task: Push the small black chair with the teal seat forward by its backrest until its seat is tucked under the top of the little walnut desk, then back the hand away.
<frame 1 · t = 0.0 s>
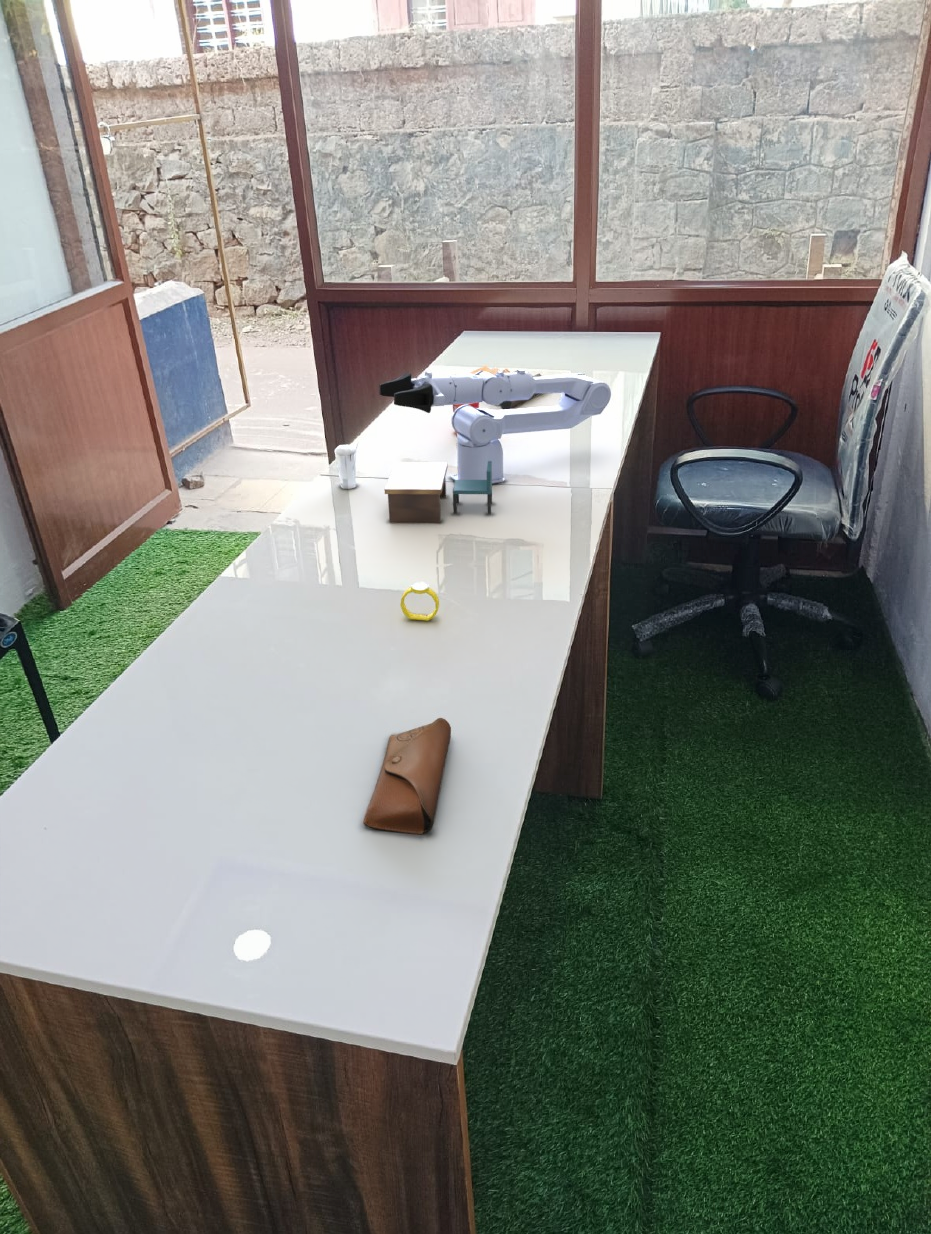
hand: (387, 394, 181), 22 cm above the table, tool horizontal, fingers open, 7 cm apart
sunglasses case: (410, 783, 112), on the table
milkshake: (350, 487, 198), on the table
chair: (472, 487, 183), point 5 cm above the table, slide at 0.0 cm
pan flute: (495, 393, 258), on the table
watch: (420, 619, 147), on the table
paper cup: (466, 433, 228), on the table
desk: (418, 508, 186), on the table
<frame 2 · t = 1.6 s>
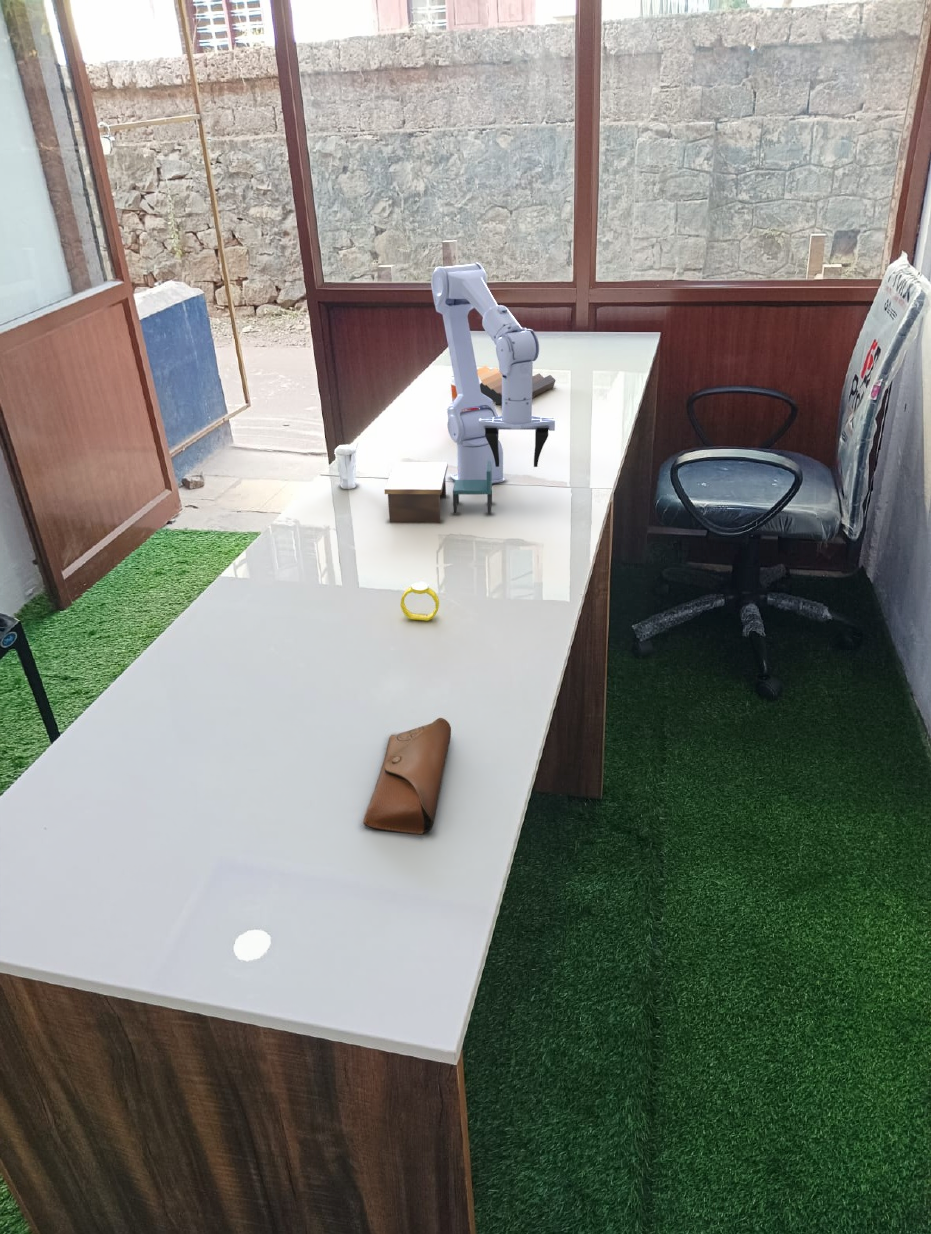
hand: (516, 465, 180), 9 cm above the table, tool pointing down, fingers open, 7 cm apart
nothing on the table moved.
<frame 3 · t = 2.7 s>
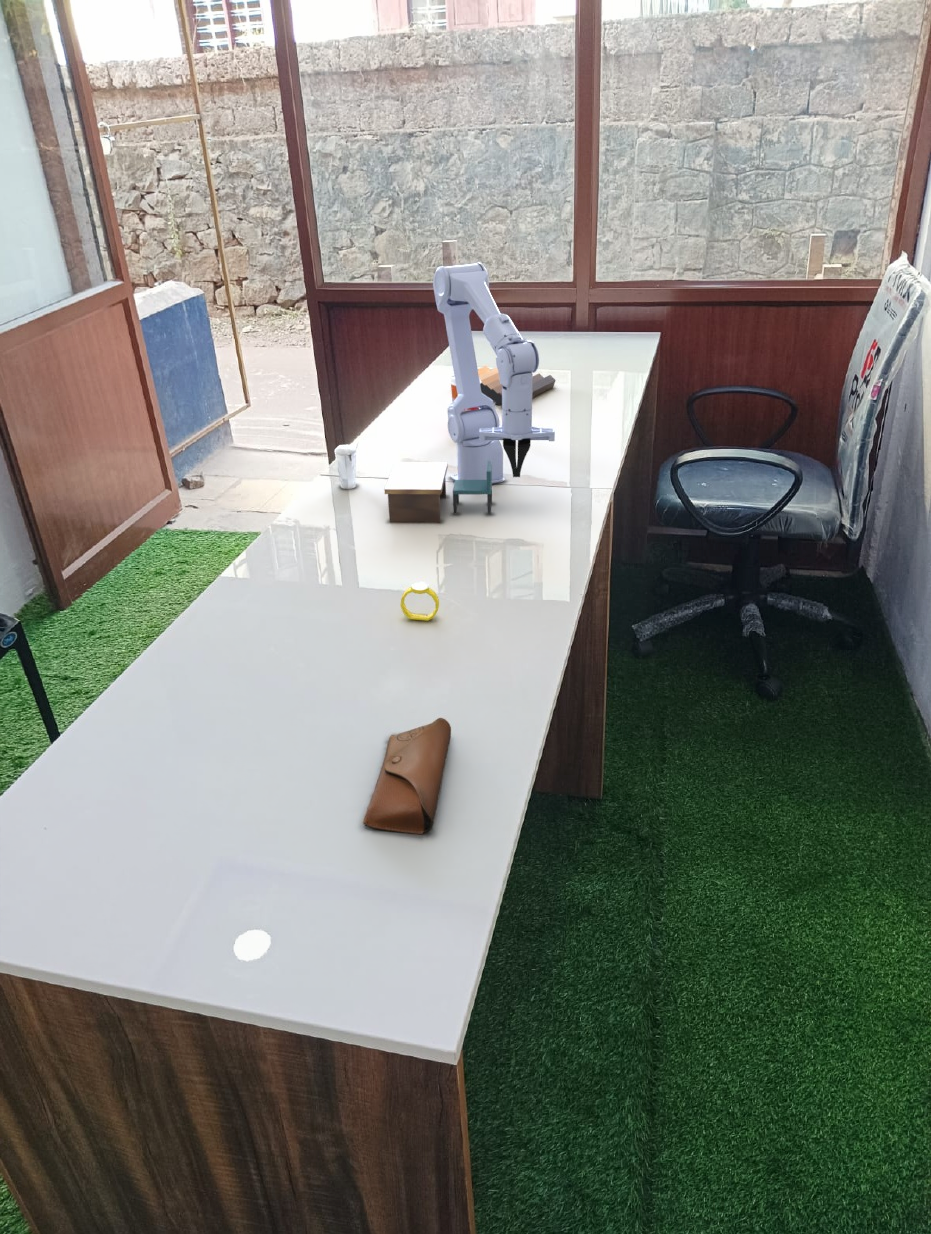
hand: (516, 475, 181), 7 cm above the table, tool pointing down, fingers closed
nothing on the table moved.
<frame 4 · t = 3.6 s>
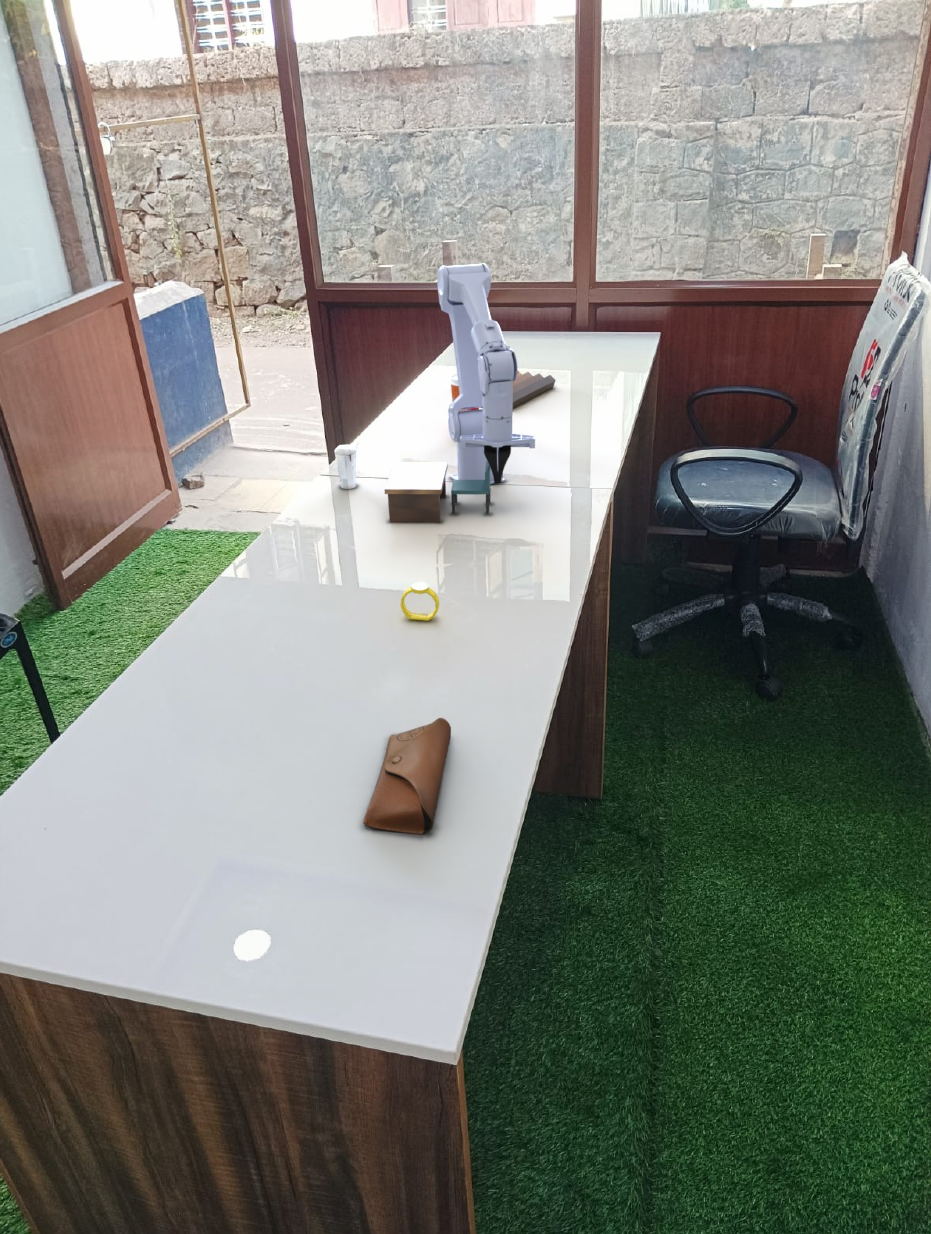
hand: (497, 481, 182), 6 cm above the table, tool pointing down, fingers closed
chair: (470, 487, 183), point 5 cm above the table, slide at 0.3 cm, touching gripper
everything else where it was.
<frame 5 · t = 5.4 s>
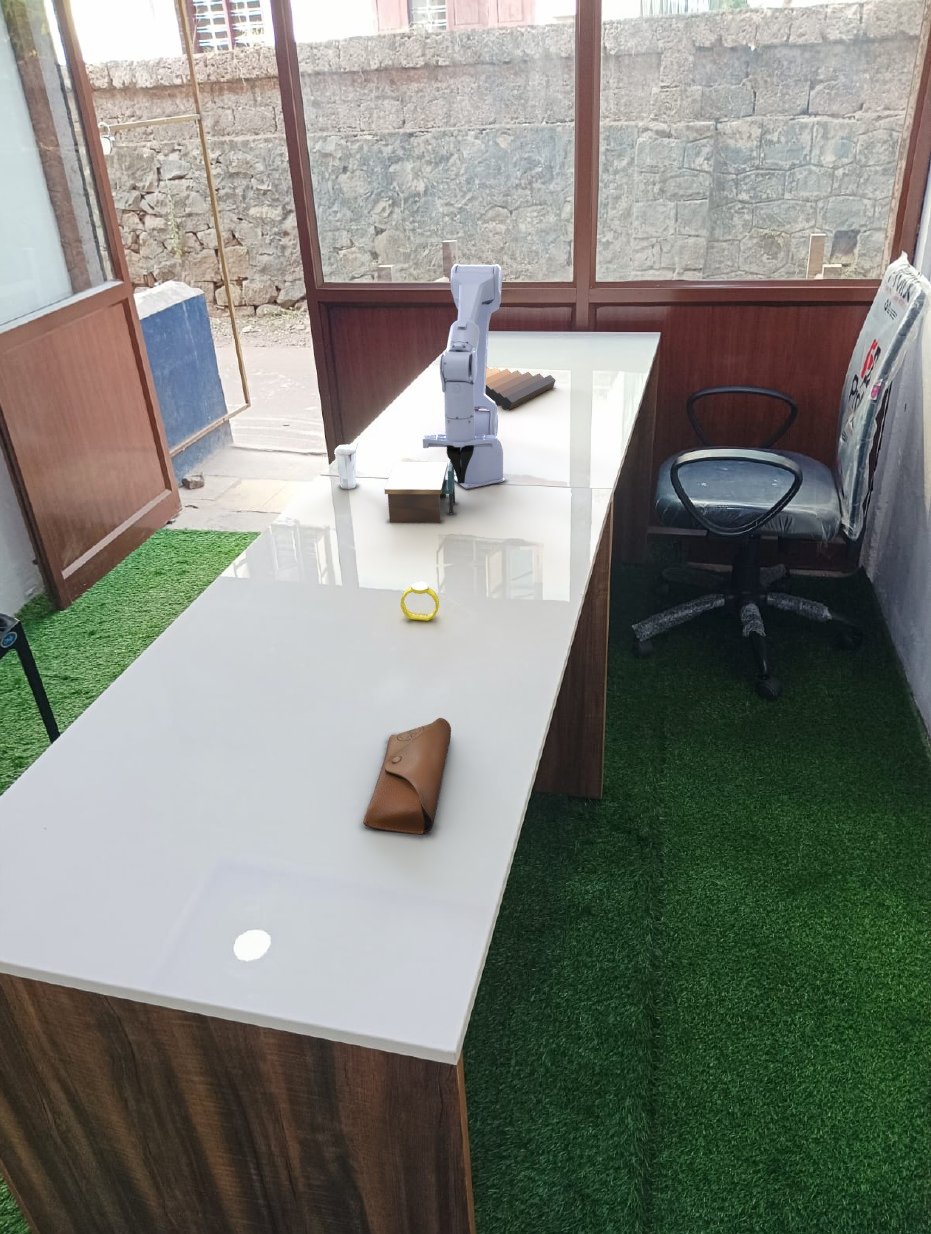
hand: (461, 481, 182), 6 cm above the table, tool pointing down, fingers closed
chair: (434, 487, 183), point 5 cm above the table, slide at 7.6 cm, touching gripper
everything else where it was.
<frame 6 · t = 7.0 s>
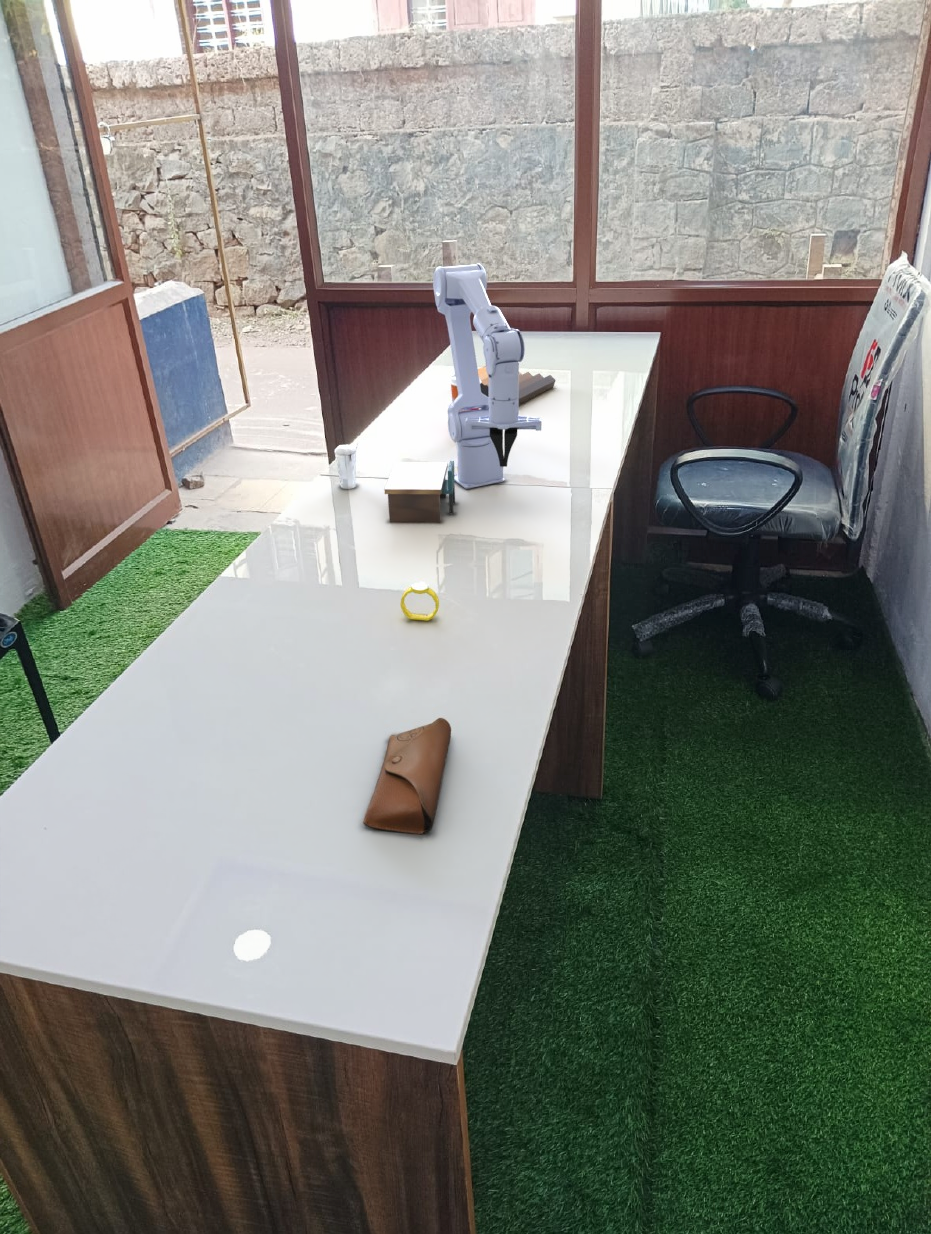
hand: (503, 464, 180), 9 cm above the table, tool pointing down, fingers closed
chair: (434, 487, 183), point 5 cm above the table, slide at 7.6 cm
everything else where it was.
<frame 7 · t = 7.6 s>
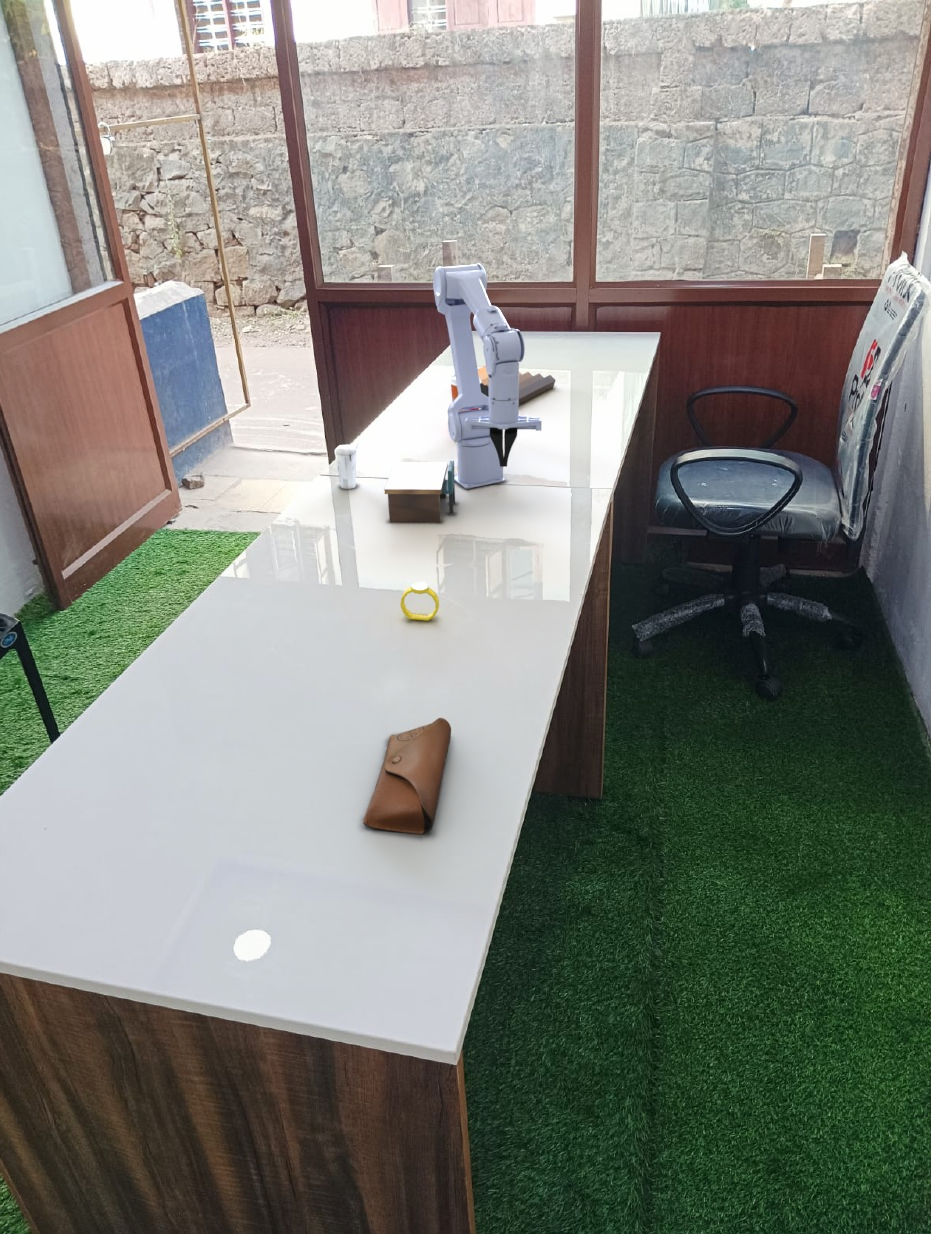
hand: (503, 464, 180), 9 cm above the table, tool pointing down, fingers closed
nothing on the table moved.
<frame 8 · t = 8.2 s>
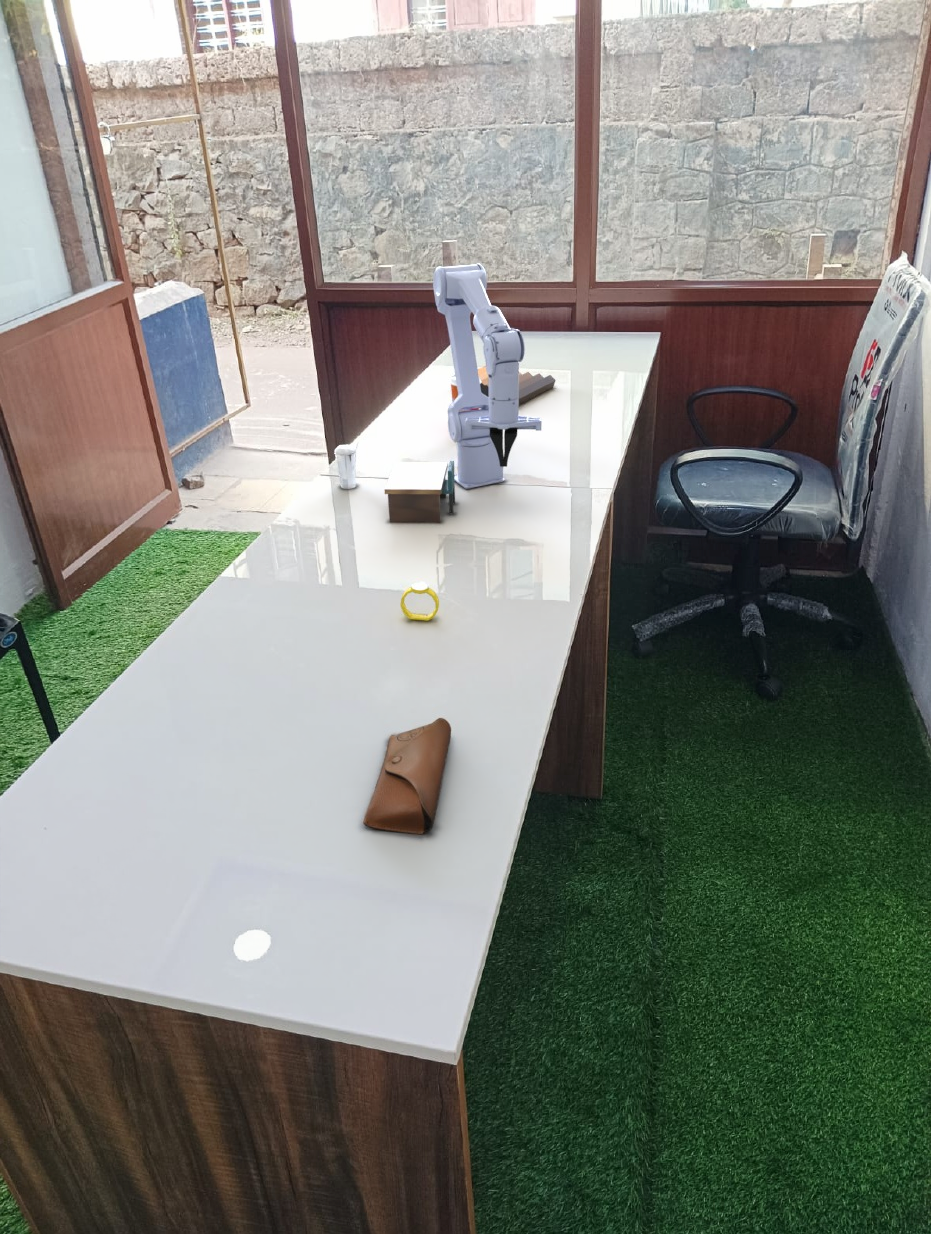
hand: (503, 464, 180), 9 cm above the table, tool pointing down, fingers closed
nothing on the table moved.
at the end: chair slide at 7.6 cm; chair 0.4 cm from the target spot on the desk, point 4.7 cm above the desk's base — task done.
